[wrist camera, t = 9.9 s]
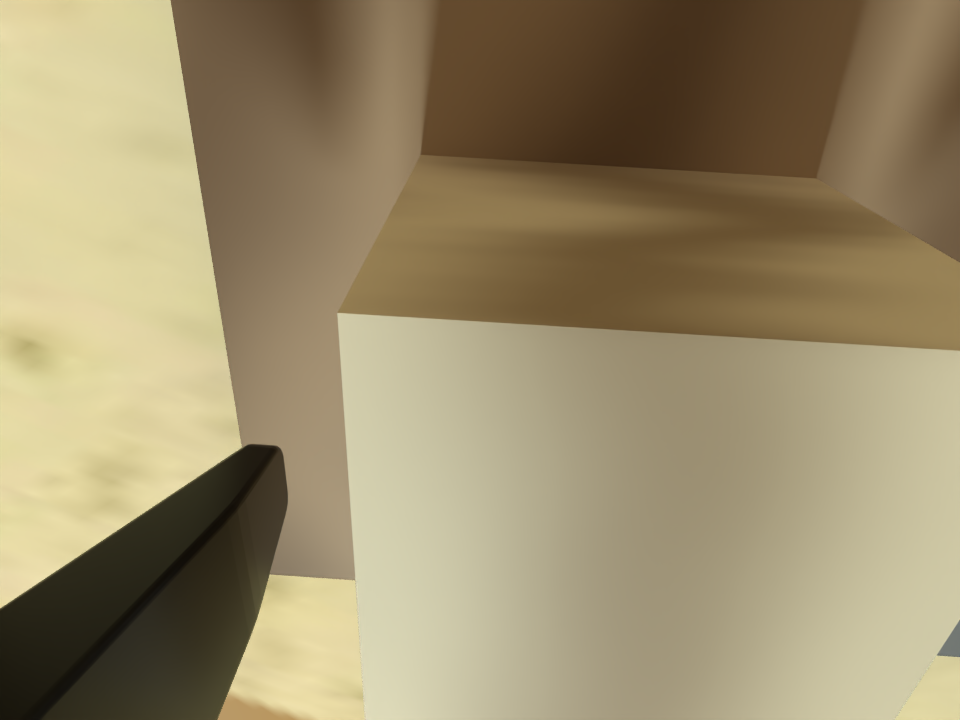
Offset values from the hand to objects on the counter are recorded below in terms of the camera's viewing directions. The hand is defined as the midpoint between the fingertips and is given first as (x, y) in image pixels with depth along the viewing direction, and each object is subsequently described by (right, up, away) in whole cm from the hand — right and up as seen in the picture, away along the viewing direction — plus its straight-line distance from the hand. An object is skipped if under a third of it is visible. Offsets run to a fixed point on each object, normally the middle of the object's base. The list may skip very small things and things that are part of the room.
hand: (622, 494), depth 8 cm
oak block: (0, +2, +4) cm, 4 cm away
